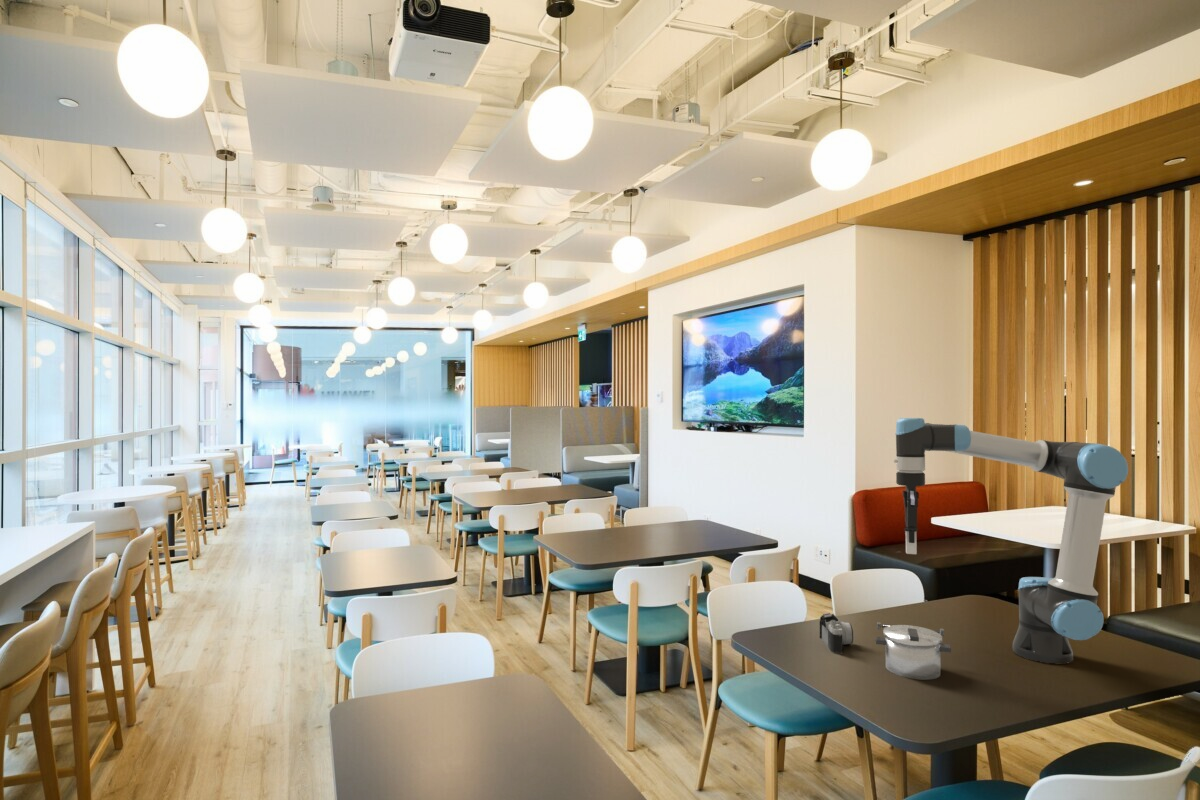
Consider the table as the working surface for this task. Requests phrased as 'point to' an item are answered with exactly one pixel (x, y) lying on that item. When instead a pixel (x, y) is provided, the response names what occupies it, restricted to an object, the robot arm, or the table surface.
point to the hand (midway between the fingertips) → (911, 553)
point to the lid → (912, 635)
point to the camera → (835, 632)
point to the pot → (913, 658)
